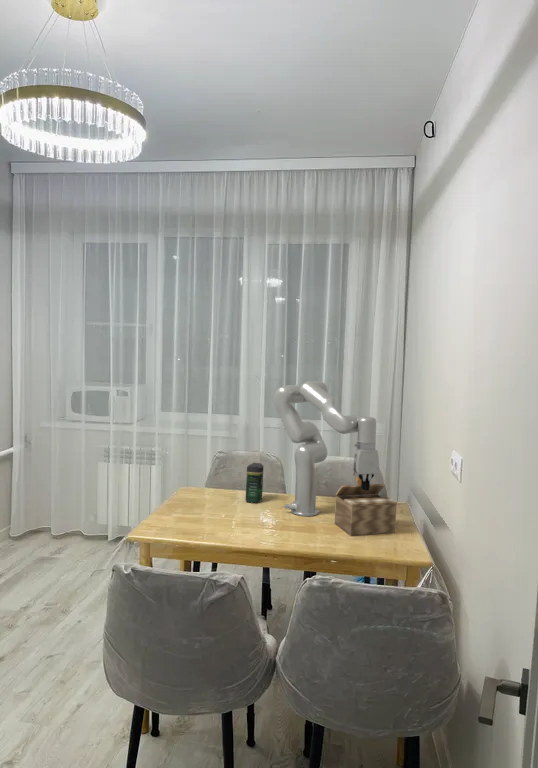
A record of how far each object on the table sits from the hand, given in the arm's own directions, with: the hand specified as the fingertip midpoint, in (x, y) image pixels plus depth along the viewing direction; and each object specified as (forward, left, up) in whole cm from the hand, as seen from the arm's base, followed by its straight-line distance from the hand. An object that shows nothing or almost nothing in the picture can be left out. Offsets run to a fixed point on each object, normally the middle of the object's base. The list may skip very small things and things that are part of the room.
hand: (365, 489), depth 220 cm
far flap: (0, +5, -2) cm, 5 cm away
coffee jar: (-35, +48, -17) cm, 62 cm away
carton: (0, -1, -16) cm, 16 cm away
